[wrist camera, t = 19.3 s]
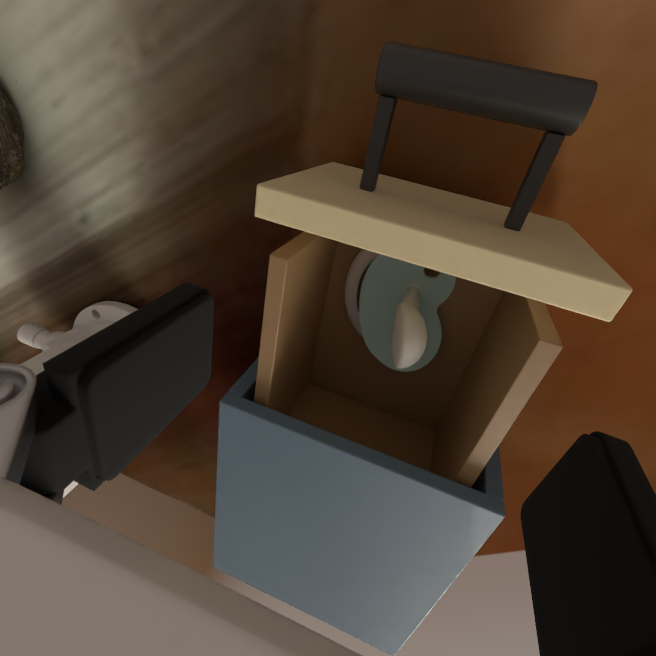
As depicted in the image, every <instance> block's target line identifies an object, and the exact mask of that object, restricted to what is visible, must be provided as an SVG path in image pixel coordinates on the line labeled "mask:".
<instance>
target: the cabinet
mask: <svg viewBox="0 0 656 656" xmlns="http://www.w3.org/2000/svg"><path fill="white" fill-rule="evenodd" d="M258 360H259V357H258V358H257V359H256V360H255V362H254V363H253V364H252V365H251V366H250V367H249V368H248V369H247V370H246V372H245V373H244V374H243V375H242V376H241V377H240V378H239V379H238V381H237V382H236V383H235V384H234V385H233V386H232V387H231V388H230V390H229V391H228V392H227V393H226V394H225V396H224V397H223V398H222V399H221V400H220V404H219V430H218V455H217V481H216V507H215V533H214V558H213V567H214V568H216V569H219V570H220V571H222V572H225V573H227V574H229V575H230V576H233V577H235V578H237V579H239V580H241V581H243V582H245V583H247V584H249V585H251V586H253V587H255V588H257V589H259V590H261V591H263V592H265V593H267V594H269V595H271V596H273V597H275V598H277V599H279V600H281V601H283V602H285V603H287V604H289V605H291V606H294V607H295V608H297V609H299V610H301V611H303V612H305V613H307V614H310V615H312V616H313V617H316V618H318V619H320V620H322V621H324V622H326V623H328V624H330V625H332V626H334V627H336V628H338V629H340V630H342V631H344V632H346V633H348V634H350V635H352V636H354V637H356V638H358V639H360V640H362V641H364V642H366V643H368V644H370V645H372V646H374V647H376V648H378V649H380V650H382V651H384V652H386V653H388V654H390V655H393V656H395V655H396V654H397V652H398V651H399V650H400V648H401V647H402V646H403V645H404V643H405V642H406V641H407V639H408V638H409V637H410V636H411V635H412V633H413V632H414V631H415V630H416V628H417V627H418V626H419V624H420V623H421V622H422V621H423V619H424V618H425V617H426V616H427V614H428V613H429V612H430V611H431V609H432V608H433V607H434V606H435V604H436V603H437V602H438V600H439V599H440V598H441V597H442V595H443V594H444V593H445V592H446V590H447V589H448V588H449V587H450V585H451V584H452V583H453V582H454V580H455V579H456V578H457V576H458V575H459V574H460V573H461V571H462V570H463V569H464V568H465V566H466V565H467V564H468V563H469V561H470V560H471V559H472V558H473V556H474V555H475V554H476V553H477V551H478V550H479V549H480V547H481V546H482V545H483V544H484V542H485V541H486V540H487V539H488V537H489V536H490V535H491V534H492V532H493V531H494V530H495V529H496V527H497V526H498V525H499V523H500V522H501V521H502V520H503V518H504V517H505V508H504V501H503V500H504V495H503V485H502V474H501V464H500V453H499V445H498V447H497V449H496V450H495V452H494V453H493V455H492V456H491V458H490V459H489V461H488V462H487V464H486V465H485V467H484V468H483V470H482V471H481V473H480V475H479V476H478V478H477V479H476V481H475V482H474V484H473V485H472V487H471V488H470V487H467V486H465V485H462V484H460V483H457V482H455V481H452V480H450V479H447V478H445V477H442V476H439V475H437V474H434V473H432V472H429V471H427V470H424V469H422V468H419V467H417V466H414V465H412V464H409V463H407V462H404V461H402V460H399V459H397V458H394V457H391V456H389V455H386V454H384V453H381V452H379V451H376V450H374V449H371V448H369V447H366V446H364V445H361V444H359V443H356V442H354V441H351V440H349V439H346V438H344V437H341V436H338V435H336V434H333V433H331V432H328V431H326V430H323V429H321V428H318V427H316V426H313V425H311V424H308V423H306V422H303V421H301V420H298V419H296V418H293V417H291V416H288V415H285V414H283V413H280V412H278V411H275V410H273V409H270V408H268V407H265V406H263V405H260V404H258V403H255V402H254V397H255V388H256V379H257V369H258Z"/></svg>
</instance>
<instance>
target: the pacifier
mask: <svg viewBox="0 0 656 656" xmlns="http://www.w3.org/2000/svg"><path fill="white" fill-rule="evenodd" d="M372 261H373V262H372ZM371 262H372V263H371ZM370 263H371V265H370V267H369V268H368V270H367V272H366V274H365V277H364V280H363V282H362V287H361V292H360V300H359V287H360V282H361V278H362V276H363V273H364V271H365V269H366V268H367V266H368V265H369V264H370ZM424 268H425V267H423V266H419V265H416V264H413V263H409V262H406V261H402V260H399V259H396V258H392V257H389V256H386V255H382V254H379V253H376V252H372V251H369V250H366V249H362V250H361V251H360V252H359V253H358V254H357V256H356V257H355V259H354V260H353V262H352V264H351V266H350V269H349V271H348V274H347V278H346V284H345V305H346V310H347V314H348V317H349V319H350V322H351V324H352V326H353V327H354V328H355V330H356V331H357V332H358V333H359V334H360V335H361V336H362V337H364V340H365V343H366V345H367V347H368V348H369V350H370V352H371V353H372V354H373V355H374V356H375V357H376V358H377V359H378V360H379V361H380V362H381V363H383V364H384V365H386V366H387V367H389V368H391V369H393V370H398V371H403V372H409V371H415V370H418V369H420V368H422V367H424V366H425V365H427V364H428V363H429V362H430V361H431V360H432V359H433V358H434V356H435V355H436V353H437V351H438V349H439V346H440V343H441V337H442V331H441V324H440V320H439V317H438V315H437V308H438V306H439V305H441V304H442V303H443V302H444V301H445V300H446V299H447V298H448V297H449V295H450V294H451V292H452V291H453V288H454V286H455V281H456V276H453V275H449V274H446V273H443V272H441V273H440V274H439V275H438V276H435V277H431V276H428V275H427V274H426V273H425V271H424Z"/></svg>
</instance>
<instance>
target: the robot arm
mask: <svg viewBox="0 0 656 656" xmlns="http://www.w3.org/2000/svg"><path fill="white" fill-rule="evenodd" d="M213 319H214V299H213V298H212V297H211V296H210V293H209V291H208V290H207V289H205V288H202V287H199V286H196V285H194V284H191V283H184V284H182V285H180V286H178V287H176V288H175V289H173V290H171V291H169V292H168V293H166V294H164V295H162V296H161V297H159V298H157V299H155V300H154V301H152V302H150V303H148V304H146V305H145V306H143V307H141V308H139V309H137V308H135V307H132V306H130V305H128V304H124V303H121V302H116V301H103V302H97V303H95V304H93V305H91V306H89V307H87V308H85V309H84V310H82V311H81V312H80V313H79V314H78V316H77V317H76V319H75V322H74V325H73V329H72V330H70V331H68V332H66V333H65V332H62V331H57V332H54V333H53V332H51V331H50V330H48V329H46V328H44V327H41V326H39V325H36V324H34V323H27V324H25V325H23V326H22V327H21V328H20V329H19V330H18V333H17V338H18V340H19V341H20V342H22V343H25V344H27V345H30V346H32V347H34V348H38V349H42V350H43V352H42V353H41V354H39V355H37V356H35V357H33V358H31V359H29V360H28V361H26V362H24V363H22V364H20V365H18V364H14V363H0V656H362V655H360V654H357V653H356V652H354V651H352V650H350V649H348V648H346V647H344V646H342V645H340V644H338V643H336V642H334V641H332V640H330V639H328V638H326V637H324V636H322V635H321V634H319V633H317V632H315V631H312V630H311V629H309V628H307V627H305V626H303V625H300V624H299V623H297V622H295V621H293V620H291V619H289V618H287V617H285V616H283V615H281V614H279V613H277V612H275V611H273V610H271V609H269V608H267V607H265V606H263V605H261V604H259V603H257V602H255V601H253V600H251V599H250V598H248V597H245V596H244V595H242V594H240V593H238V592H236V591H234V590H232V589H230V588H228V587H226V586H224V585H222V584H220V583H218V582H216V581H214V580H212V579H210V578H208V577H206V576H204V575H202V574H200V573H198V572H196V571H194V570H192V569H190V568H188V567H186V566H184V565H182V564H180V563H178V562H176V561H174V560H172V559H170V558H168V557H166V556H164V555H162V554H160V553H158V552H156V551H154V550H152V549H150V548H148V547H146V546H144V545H142V544H140V543H138V542H136V541H134V540H132V539H130V538H128V537H126V536H124V535H122V534H120V533H118V532H116V531H114V530H112V529H110V528H108V527H106V526H104V525H102V524H100V523H98V522H96V521H94V520H92V519H90V518H88V517H86V516H84V515H82V514H79V513H78V512H75V511H73V510H71V509H69V508H67V507H65V506H63V505H61V504H62V499H63V498H64V497H65V495H67V494H68V493H69V492H70V491H71V490H72V489H73V488H74V487H75V486H76V485H77V484H81V485H83V486H85V487H87V488H89V489H91V490H93V491H95V490H96V489H97V488H98V487H99V486H100V485H101V484H102V483H103V482H104V481H105V480H107V481H109V480H112V479H113V478H115V477H116V476H117V475H118V474H119V473H120V472H121V471H122V470H123V469H124V468H125V467H126V466H127V465H128V464H129V463H130V462H131V461H132V460H133V459H134V458H135V457H136V456H137V455H138V454H139V453H140V452H141V451H142V450H143V449H144V448H145V447H146V446H147V445H148V444H149V443H150V442H151V441H152V440H153V439H154V438H155V437H156V436H157V435H158V434H159V433H160V432H161V431H162V430H163V429H164V428H165V427H166V426H167V425H168V424H169V423H170V422H171V421H172V420H173V419H174V418H175V417H176V416H177V415H178V414H179V413H180V412H181V411H182V410H183V409H184V408H185V407H186V406H187V405H188V404H189V403H190V402H191V401H192V400H193V399H194V398H195V397H196V396H197V394H198V393H199V392H200V391H201V390H202V389H203V388H204V387H205V386H206V385H207V383H208V382H209V380H210V377H211V363H212V341H213ZM521 522H522V529H523V536H524V543H525V551H526V558H527V565H528V572H529V580H530V586H531V593H532V600H533V608H534V615H535V623H536V630H537V637H538V644H539V652H540V656H656V495H655V493H654V491H653V489H652V487H651V485H650V483H649V481H648V479H647V477H646V475H645V473H644V471H643V469H642V467H641V465H640V463H639V461H638V460H637V458H636V456H635V454H634V452H633V450H632V448H631V446H630V445H629V443H627V442H626V441H623V440H621V439H618V438H615V437H612V436H610V435H607V434H604V433H601V432H593V433H591V434H590V435H588V434H583V435H581V436H580V437H579V438H578V439H577V440H576V442H575V443H574V444H573V445H572V446H571V447H570V449H569V450H568V451H567V452H566V453H565V454H564V456H563V457H562V458H561V459H560V460H559V462H558V463H557V464H556V465H555V466H554V467H553V469H552V470H551V471H550V472H549V473H548V474H547V476H546V477H545V478H544V479H543V480H542V481H541V483H540V484H539V485H538V486H537V487H536V488H535V490H534V491H533V492H532V493H531V494H530V496H529V497H528V498H527V499H526V500H525V502H524V503H523V506H522V509H521Z"/></svg>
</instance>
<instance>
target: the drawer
mask: <svg viewBox="0 0 656 656" xmlns="http://www.w3.org/2000/svg"><path fill="white" fill-rule="evenodd" d="M375 89H376V93H377V94H379V95H380V97H379V102H378V106H377V111H376V115H375V120H374V124H373V129H372V133H371V138H370V142H369V147H368V151H367V156H366V160H365V165H364V169H359V168H355V167H351V166H347V165H343V164H340V163H336V162H331V163H327V164H324V165H320V166H317V167H314V168H310V169H307V170H303V171H300V172H297V173H293V174H290V175H286V176H283V177H280V178H276V179H273V180H269V181H266V182H263V183H259V184H257V189H256V201H255V214H254V215H255V216H256V217H258V218H261V219H265V220H268V221H272V222H275V223H278V224H282V225H285V226H288V227H292V228H295V229H298V230H302V231H304V232H302V233H301V234H299V235H298V236H296V237H295V238H293V239H292V240H290V241H289V242H287V243H286V244H284V245H283V246H281V247H280V248H278V249H277V250H275V251H274V252H272V253H271V254H270V258H269V267H268V277H267V286H266V295H265V304H264V314H263V323H262V332H261V341H260V351H259V360H258V369H257V379H256V388H255V397H254V402H255V403H258V404H260V405H263V406H265V407H268V408H270V409H273V410H275V411H278V412H280V413H283V414H285V415H288V416H291V417H293V418H296V419H298V420H301V421H303V422H306V423H308V424H311V425H313V426H316V427H318V428H321V429H323V430H326V431H328V432H331V433H333V434H336V435H338V436H341V437H344V438H346V439H349V440H351V441H354V442H356V443H359V444H361V445H364V446H366V447H369V448H371V449H374V450H376V451H379V452H381V453H384V454H386V455H389V456H391V457H394V458H397V459H399V460H402V461H404V462H407V463H409V464H412V465H414V466H417V467H419V468H422V469H424V470H427V471H429V472H432V473H434V474H437V475H439V476H442V477H445V478H447V479H450V480H452V481H455V482H457V483H460V484H462V485H465V486H467V487H470V488H471V487H472V485H473V484H474V482H475V481H476V479H477V478H478V476H479V475H480V473H481V471H482V470H483V468H484V467H485V465H486V464H487V462H488V461H489V459H490V458H491V456H492V455H493V453H494V452H495V450H496V449H497V447H498V445H499V444H500V442H501V441H502V439H503V438H504V436H505V435H506V433H507V432H508V430H509V429H510V427H511V426H512V424H513V423H514V421H515V419H516V418H517V416H518V415H519V413H520V412H521V410H522V409H523V407H524V406H525V404H526V403H527V401H528V400H529V398H530V397H531V395H532V393H533V392H534V390H535V389H536V387H537V386H538V384H539V383H540V381H541V380H542V378H543V377H544V375H545V374H546V372H547V371H548V369H549V368H550V366H551V364H552V363H553V361H554V360H555V358H556V357H557V355H558V354H559V352H560V351H561V349H562V348H563V345H562V342H561V340H560V338H559V335H558V333H557V331H556V328H555V326H554V324H553V321H552V319H551V317H550V314H549V312H548V310H547V307H546V305H545V303H547V304H550V305H553V306H557V307H560V308H564V309H567V310H570V311H574V312H577V313H580V314H584V315H587V316H590V317H594V318H597V319H600V320H604V321H607V322H610V321H612V319H613V318H614V316H615V315H616V313H617V312H618V311H619V309H620V308H621V306H622V305H623V304H624V302H625V301H626V299H627V298H628V297H629V295H630V294H631V292H632V288H631V287H630V286H629V285H628V284H627V283H626V282H625V281H624V280H623V279H622V278H621V277H620V276H619V275H618V274H617V273H616V272H615V271H614V270H613V269H612V268H611V267H610V266H609V265H608V264H607V263H606V262H605V261H604V260H603V259H602V258H601V257H600V256H599V255H598V254H597V253H596V252H595V251H594V249H593V248H592V247H591V246H590V245H589V244H588V243H587V242H586V241H585V240H584V239H583V238H582V237H581V236H580V235H579V234H578V233H577V232H576V231H575V230H574V229H573V228H572V227H571V226H570V225H569V224H568V223H567V222H564V221H560V220H556V219H552V218H549V217H545V216H541V215H537V214H533V213H529V211H530V209H531V207H532V205H533V203H534V201H535V199H536V197H537V194H538V192H539V190H540V188H541V186H542V184H543V182H544V180H545V178H546V176H547V173H548V171H549V169H550V167H551V165H552V163H553V161H554V159H555V157H556V155H557V153H558V150H559V148H560V146H561V144H562V142H563V140H564V138H565V136H564V135H566V136H570V135H572V134H573V133H574V132H575V131H576V130H577V129H578V127H579V126H580V124H581V123H582V121H583V120H584V118H585V116H586V114H587V112H588V110H589V108H590V106H591V104H592V102H593V99H594V97H595V94H596V90H597V82H596V81H593V80H588V79H583V78H578V77H573V76H567V75H562V74H557V73H552V72H546V71H541V70H536V69H531V68H526V67H520V66H515V65H510V64H505V63H500V62H494V61H489V60H484V59H479V58H473V57H468V56H463V55H458V54H453V53H447V52H442V51H437V50H432V49H426V48H421V47H416V46H411V45H406V44H400V43H395V42H390V41H389V42H386V44H385V45H384V47H383V50H382V52H381V55H380V59H379V63H378V67H377V73H376V81H375ZM396 98H397V99H402V100H407V101H411V102H416V103H420V104H425V105H429V106H434V107H438V108H443V109H448V110H452V111H457V112H461V113H466V114H470V115H475V116H480V117H484V118H489V119H493V120H498V121H502V122H507V123H512V124H516V125H521V126H525V127H530V128H534V129H539V130H543V131H547V132H545V133H544V135H543V137H542V139H541V141H540V144H539V146H538V148H537V150H536V153H535V155H534V157H533V159H532V162H531V164H530V166H529V168H528V170H527V173H526V175H525V177H524V179H523V182H522V184H521V186H520V188H519V191H518V193H517V195H516V197H515V200H514V202H513V204H512V206H511V208H510V207H506V206H502V205H498V204H494V203H490V202H487V201H483V200H479V199H475V198H471V197H467V196H463V195H460V194H456V193H452V192H448V191H444V190H440V189H436V188H432V187H429V186H425V185H421V184H417V183H413V182H409V181H405V180H401V179H398V178H394V177H390V176H386V175H382V174H379V172H380V168H381V164H382V160H383V156H384V152H385V148H386V144H387V140H388V136H389V132H390V128H391V124H392V119H393V115H394V111H395V107H396V103H397V99H396ZM362 249H366V250H369V251H372V252H376V253H379V254H382V255H386V256H389V257H392V258H396V259H399V260H402V261H406V262H409V263H413V264H416V265H419V266H423V267H425V268H424V271H425V273H426V274H427V275H428V276H431V277H435V276H438V275H439V274H440V273H441V272H443V273H446V274H449V275H453V276H456V281H455V286H454V288H453V291H452V292H451V294H450V295H449V297H448V298H447V299H446V300H445V301H444V302H443V303H442V304H441V305H439V306H438V308H437V315H438V317H439V320H440V324H441V331H442V337H441V343H440V346H439V349H438V351H437V353H436V355H435V356H434V358H433V359H432V360H431V361H430V362H429V363H428V364H427V365H425V366H424V367H422V368H420V369H418V370H415V371H409V372H403V371H398V370H393V369H391V368H389V367H387V366H386V365H384V364H383V363H381V362H380V361H379V360H378V359H377V358H376V357H375V356H374V355H373V354H372V353H371V352H370V350H369V348H368V347H367V345H366V343H365V340H364V337H362V336H361V335H360V334H359V333H358V332H357V331H356V330H355V328H354V327H353V326H352V324H351V322H350V319H349V317H348V314H347V310H346V305H345V284H346V278H347V274H348V271H349V269H350V266H351V264H352V262H353V260H354V259H355V257H356V256H357V254H358V253H359V252H360V251H361V250H362ZM372 262H373V261H372ZM372 262H371V263H372ZM371 263H370V264H369V265H368V266H367V268H366V269H365V271H364V273H363V276H362V278H361V282H360V287H359V300H360V292H361V287H362V282H363V280H364V277H365V274H366V272H367V270H368V268H369V267H370V265H371Z"/></svg>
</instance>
